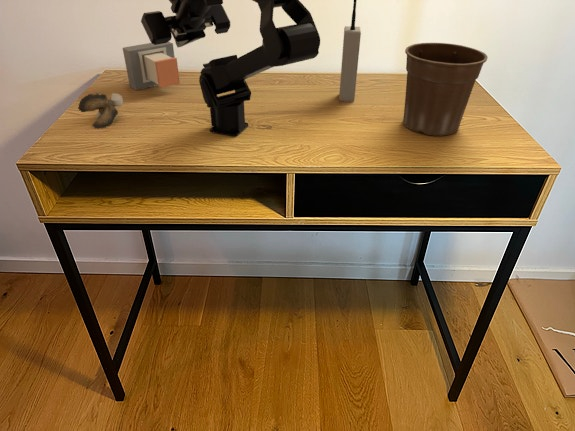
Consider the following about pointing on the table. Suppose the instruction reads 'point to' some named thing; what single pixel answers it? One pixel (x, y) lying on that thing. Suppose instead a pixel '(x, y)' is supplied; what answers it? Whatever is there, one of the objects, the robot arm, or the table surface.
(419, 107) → the plant pot
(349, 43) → the vintage mobile phone
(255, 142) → the table surface
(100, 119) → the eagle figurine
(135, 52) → the box
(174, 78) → the plunger
